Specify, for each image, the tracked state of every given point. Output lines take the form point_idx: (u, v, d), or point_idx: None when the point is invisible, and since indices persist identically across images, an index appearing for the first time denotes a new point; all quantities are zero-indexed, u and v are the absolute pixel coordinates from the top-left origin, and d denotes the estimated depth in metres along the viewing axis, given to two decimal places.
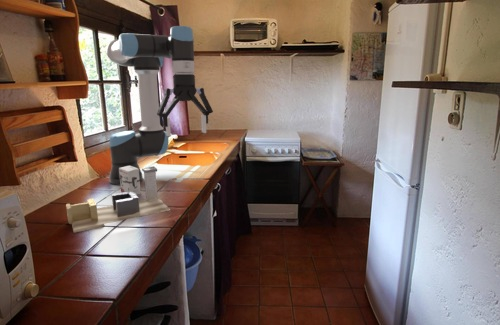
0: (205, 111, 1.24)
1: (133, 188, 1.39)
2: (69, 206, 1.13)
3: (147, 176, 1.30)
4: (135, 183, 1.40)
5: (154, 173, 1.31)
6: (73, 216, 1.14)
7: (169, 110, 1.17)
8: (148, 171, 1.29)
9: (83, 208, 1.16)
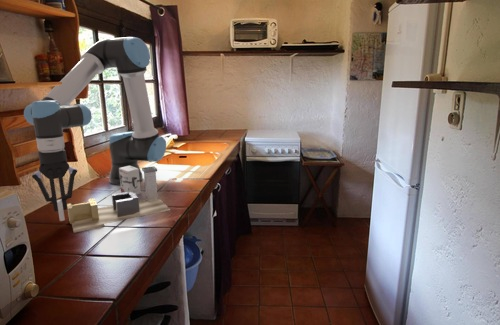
0: (63, 196, 1.11)
1: (133, 188, 1.39)
2: (70, 206, 1.13)
3: (147, 176, 1.30)
4: (135, 183, 1.40)
5: (154, 173, 1.31)
6: (74, 216, 1.15)
7: (53, 194, 1.09)
8: (148, 171, 1.29)
9: (84, 208, 1.16)
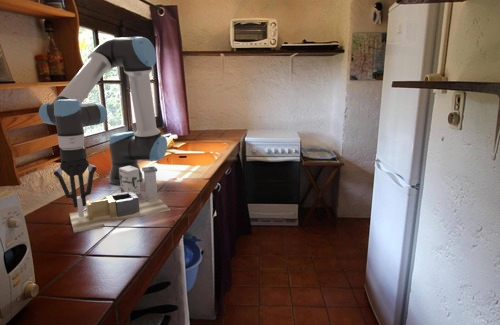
0: (83, 193, 1.14)
1: (133, 188, 1.39)
2: (89, 203, 1.16)
3: (147, 176, 1.30)
4: (135, 183, 1.40)
5: (154, 173, 1.31)
6: (92, 212, 1.17)
7: (73, 190, 1.12)
8: (148, 171, 1.29)
9: (102, 205, 1.19)
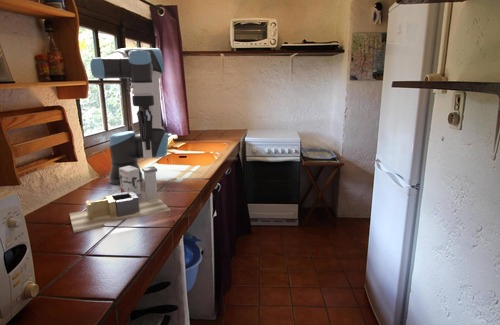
0: (144, 137, 1.26)
1: (133, 188, 1.39)
2: (89, 203, 1.16)
3: (147, 176, 1.30)
4: (135, 183, 1.40)
5: (154, 173, 1.31)
6: (92, 212, 1.17)
7: (141, 132, 1.29)
8: (148, 171, 1.29)
9: (102, 205, 1.19)
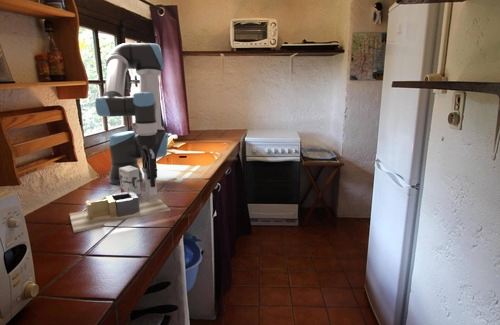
0: (148, 175, 1.29)
1: (133, 188, 1.39)
2: (89, 203, 1.16)
3: (147, 176, 1.30)
4: (135, 183, 1.40)
5: None
6: (92, 212, 1.17)
7: None
8: None
9: (102, 205, 1.19)
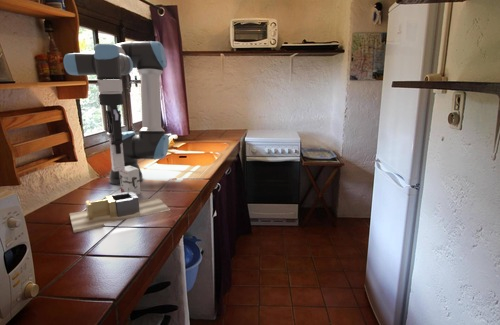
0: (113, 140, 1.14)
1: (133, 188, 1.39)
2: (89, 203, 1.16)
3: (112, 141, 1.15)
4: (135, 183, 1.40)
5: None
6: (92, 212, 1.17)
7: None
8: None
9: (102, 205, 1.19)
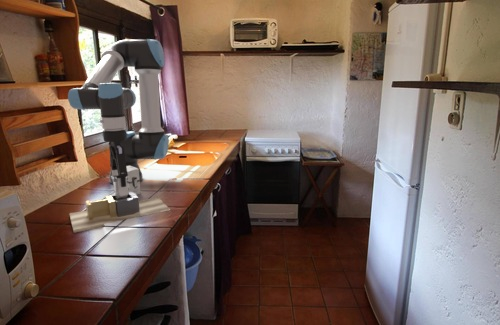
0: (118, 173, 1.14)
1: (133, 188, 1.39)
2: (89, 203, 1.16)
3: (116, 185, 1.19)
4: (135, 183, 1.40)
5: None
6: (92, 212, 1.17)
7: (111, 163, 1.23)
8: (117, 180, 1.18)
9: (102, 205, 1.19)
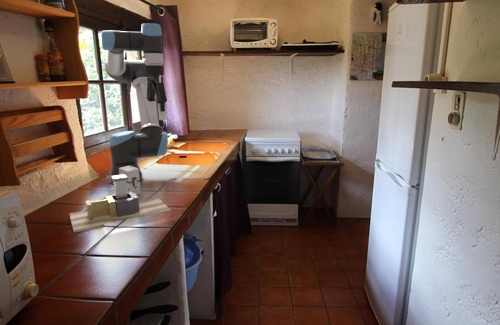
0: (158, 99, 1.33)
1: (133, 188, 1.39)
2: (89, 203, 1.16)
3: (116, 185, 1.19)
4: (135, 183, 1.40)
5: (124, 182, 1.20)
6: (92, 212, 1.17)
7: (148, 95, 1.44)
8: (117, 180, 1.18)
9: (102, 205, 1.19)
